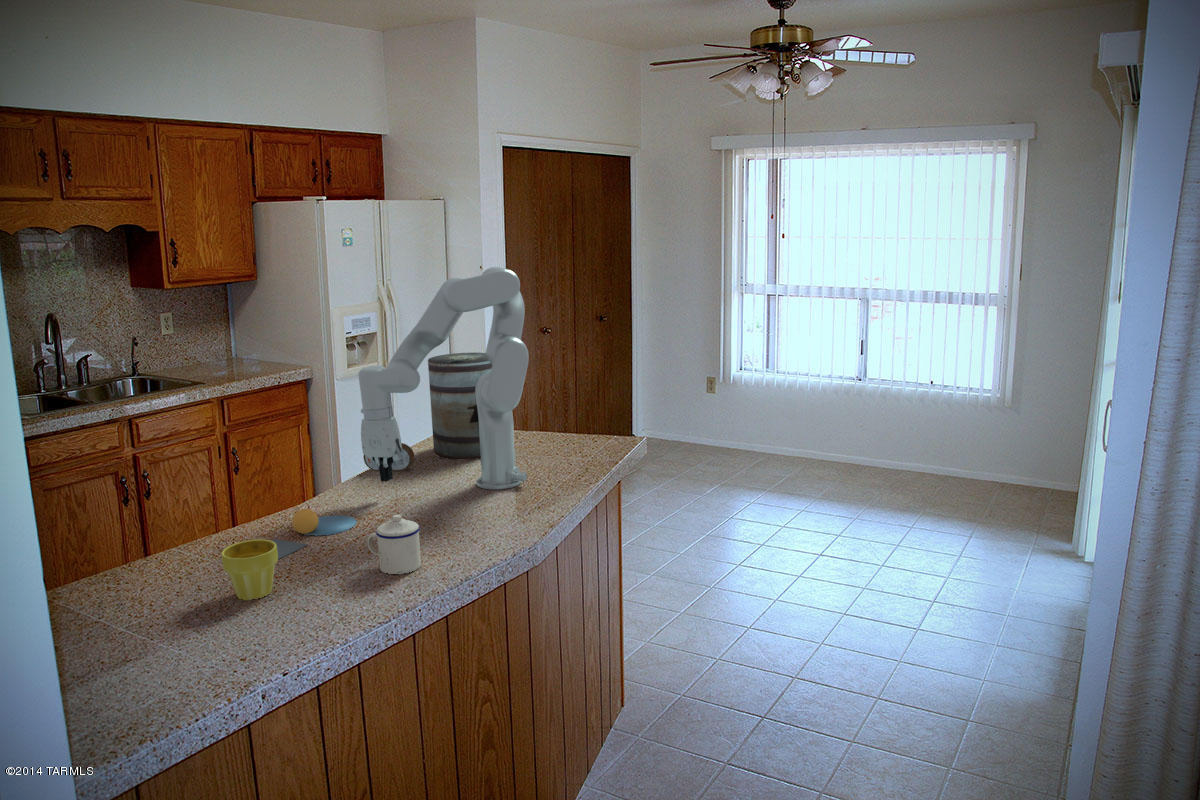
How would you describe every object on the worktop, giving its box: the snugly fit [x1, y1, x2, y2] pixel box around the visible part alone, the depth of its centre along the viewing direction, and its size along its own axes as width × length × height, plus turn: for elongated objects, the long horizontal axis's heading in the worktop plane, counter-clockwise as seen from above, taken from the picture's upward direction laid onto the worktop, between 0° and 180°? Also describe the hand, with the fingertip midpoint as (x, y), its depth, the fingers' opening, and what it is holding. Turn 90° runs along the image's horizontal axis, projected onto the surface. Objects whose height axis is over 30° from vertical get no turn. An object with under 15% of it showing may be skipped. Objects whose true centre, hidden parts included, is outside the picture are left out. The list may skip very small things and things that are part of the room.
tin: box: [363, 442, 415, 472], centre depth 262 cm, size 15×3×8 cm, turn 84°
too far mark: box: [271, 538, 309, 560], centre depth 202 cm, size 10×10×1 cm
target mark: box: [303, 515, 357, 537], centre depth 217 cm, size 14×14×1 cm
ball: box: [291, 508, 319, 535], centre depth 211 cm, size 6×6×6 cm
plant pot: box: [221, 538, 279, 601], centre depth 177 cm, size 10×10×10 cm
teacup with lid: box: [366, 514, 422, 575], centre depth 189 cm, size 12×9×12 cm
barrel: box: [427, 352, 492, 460], centre depth 281 cm, size 22×22×30 cm
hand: (386, 479), depth 236 cm, fingers closed
